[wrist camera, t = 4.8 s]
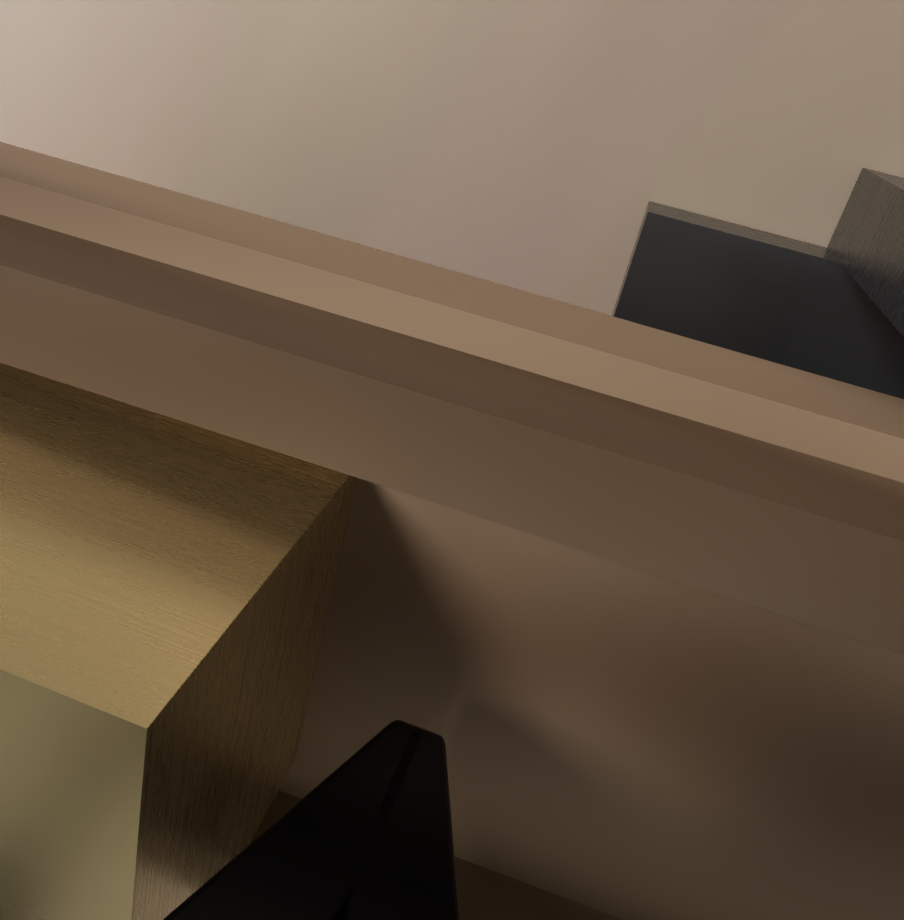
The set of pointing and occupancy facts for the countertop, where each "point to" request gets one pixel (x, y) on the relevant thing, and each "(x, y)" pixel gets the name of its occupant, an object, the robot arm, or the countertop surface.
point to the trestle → (781, 287)
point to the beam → (531, 548)
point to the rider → (147, 646)
